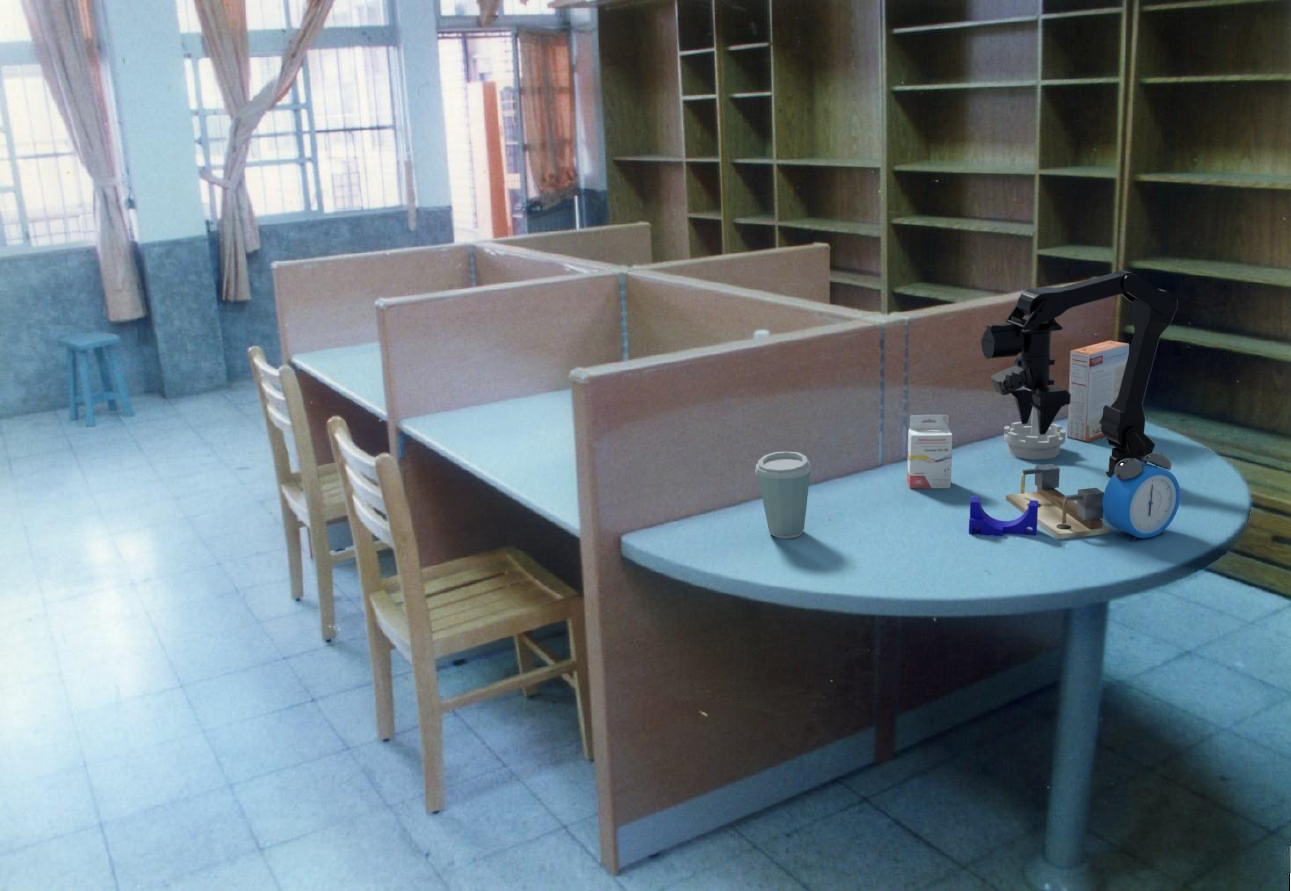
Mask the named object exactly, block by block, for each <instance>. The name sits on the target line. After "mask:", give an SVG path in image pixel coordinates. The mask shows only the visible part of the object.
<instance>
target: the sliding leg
mask: <svg viewBox="0 0 1291 891" xmlns="http://www.w3.org/2000/svg"><path fill="white" fill-rule="evenodd" d="M1034 466H1035V467H1034V468H1027V469H1022V473H1021V478H1020V479H1021V480H1020V494H1024V493H1026V492H1025V489H1026V488H1025V487H1026V476H1027V475H1033V474H1034V486H1035V487H1039V488H1040V489H1050V488H1055V489H1058V488H1060V471H1061V468H1060V467H1058V466H1057V465H1055V464H1054V463H1047V464H1039V465H1038V464H1037V465H1034Z"/></svg>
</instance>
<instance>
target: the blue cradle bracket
mask: <svg viewBox="0 0 1291 891" xmlns="http://www.w3.org/2000/svg"><path fill="white" fill-rule="evenodd" d="M970 497H971V498H970V500H969V519H968V520H969V521H968V535H976V534H979V536H991V535H993V537H1003V535H1004V534H1005V535H1006V534H1007V535H1021V536H1035V537H1036V535H1037V534H1038V523H1037V518H1038V501H1037V500H1030V503H1029V506H1028V509H1027V510H1026V512H1025V513H1023V514H1021V515H1020V516H1019V517H1017V518H1015V519H1012V520H1011V519H1010V520H999V519H996V518H993V517H992V516H990V515H989V514H988V513H987V512H986V511H985V510H984V508H983V506H982V504H981V497H980V496H970Z"/></svg>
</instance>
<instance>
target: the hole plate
mask: <svg viewBox="0 0 1291 891" xmlns="http://www.w3.org/2000/svg"><path fill="white" fill-rule="evenodd" d="M1036 487H1037V486H1036ZM1103 495H1104V491H1102V490H1101V489H1099V488H1097V487H1091V488H1081V489H1077V494H1068V495H1065V494H1063V493H1062V492H1061V491H1059V490H1058V489H1057V488H1050V489H1040V488H1039V487H1037V488H1036V491H1034V492H1033V491H1032V492H1024V494H1021V493H1014V494H1013V493H1012V494H1006V495H1005V501H1007V502H1008V503H1009V504H1011V505H1012V506H1014V507H1015V508H1016V509H1017V510H1019V511H1020V512H1022V513H1023V514H1024V513H1025V512H1026V510H1027V509H1028V506H1029V503H1030V500H1037V501H1038V518H1037V525H1038V526H1040V527H1042V528H1043V529H1044V530H1045V531H1047V533H1050V534H1051V535H1052V536H1054V537H1055V538H1056V539H1057V540H1064V539H1075V538H1081V537H1082V538H1083V537H1090V536H1098V535H1099V536H1100V535H1109V534H1110V533H1111V528H1110V527H1108V525H1105V524H1104V523H1103V519H1104V512H1103ZM1075 501H1076V502H1075Z"/></svg>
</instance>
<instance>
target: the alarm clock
mask: <svg viewBox="0 0 1291 891" xmlns="http://www.w3.org/2000/svg"><path fill="white" fill-rule="evenodd" d="M1142 461H1144V462H1141V461H1139V460H1137V459H1134V458H1126V459H1123V460H1121V461H1119V462H1118V463H1117V465H1116V466H1115V470H1114V472H1115V473H1114V475H1113V476H1112V477H1110V479H1109V480H1108V482H1107V484H1106V485H1105V489H1104V491H1103V492H1104V495H1103V516H1104V517H1105V520H1106V521H1107V523H1108V524H1109V525H1110V526H1111V527H1113V528H1114V529H1117V530H1119V531H1122V532H1123V533H1126V534H1128V535H1131V536H1132V540H1131V542H1135V540H1136V539H1137V538H1139V539H1150V538H1154V537H1156V536H1158V535H1159V534H1160V535H1163V532H1164V531H1165V530H1166V529H1167V528H1168V527H1169V526H1170V524H1171V523H1172V522H1173V520H1174V518H1175V517H1176V514H1177V513H1178V510H1179V506H1180V502H1181V488H1180V487H1181V486H1180V483H1179V482H1178V479H1177V477H1176V476H1175V475H1174V473H1172V472H1171V470H1172V466H1173V465H1172V461H1171V459H1170V458H1169V457H1168V456H1166V455H1164V452H1161V453H1159V452H1152V453H1149V454H1147V455H1146V456H1145V457H1144V459H1142ZM1145 461H1147V463H1145Z"/></svg>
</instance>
